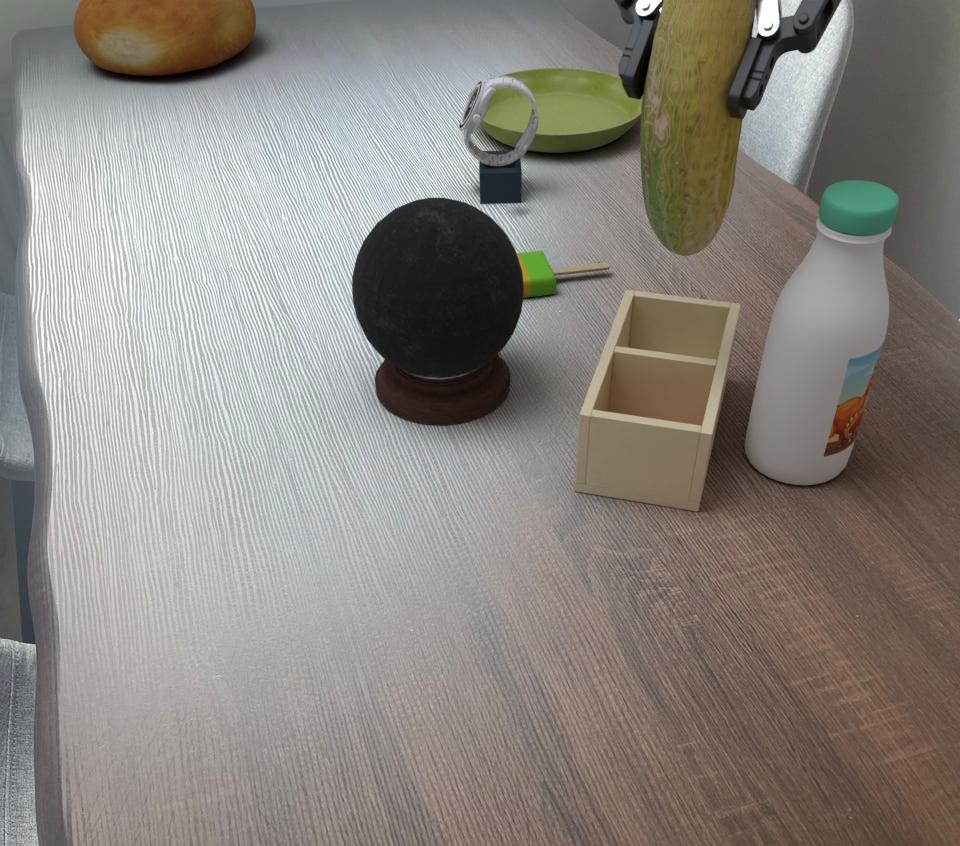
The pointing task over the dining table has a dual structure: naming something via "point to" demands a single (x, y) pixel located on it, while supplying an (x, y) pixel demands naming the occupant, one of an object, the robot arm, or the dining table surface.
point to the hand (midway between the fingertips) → (681, 101)
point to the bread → (162, 33)
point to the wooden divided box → (656, 400)
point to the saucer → (563, 110)
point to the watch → (500, 166)
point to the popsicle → (547, 273)
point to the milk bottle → (824, 341)
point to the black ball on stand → (439, 309)
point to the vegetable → (692, 119)
